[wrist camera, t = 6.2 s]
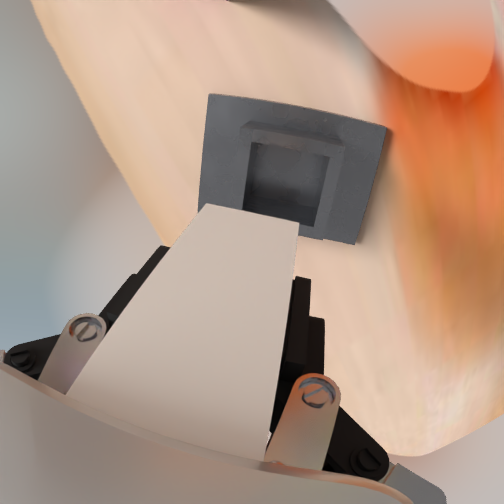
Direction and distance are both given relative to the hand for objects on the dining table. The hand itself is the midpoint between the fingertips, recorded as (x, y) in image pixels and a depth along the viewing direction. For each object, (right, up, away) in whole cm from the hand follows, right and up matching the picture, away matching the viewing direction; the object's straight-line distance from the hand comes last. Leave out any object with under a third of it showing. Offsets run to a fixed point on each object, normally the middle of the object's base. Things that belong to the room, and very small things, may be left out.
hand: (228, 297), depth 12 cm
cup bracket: (+4, +9, +18) cm, 21 cm away
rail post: (+1, +2, +3) cm, 3 cm away
